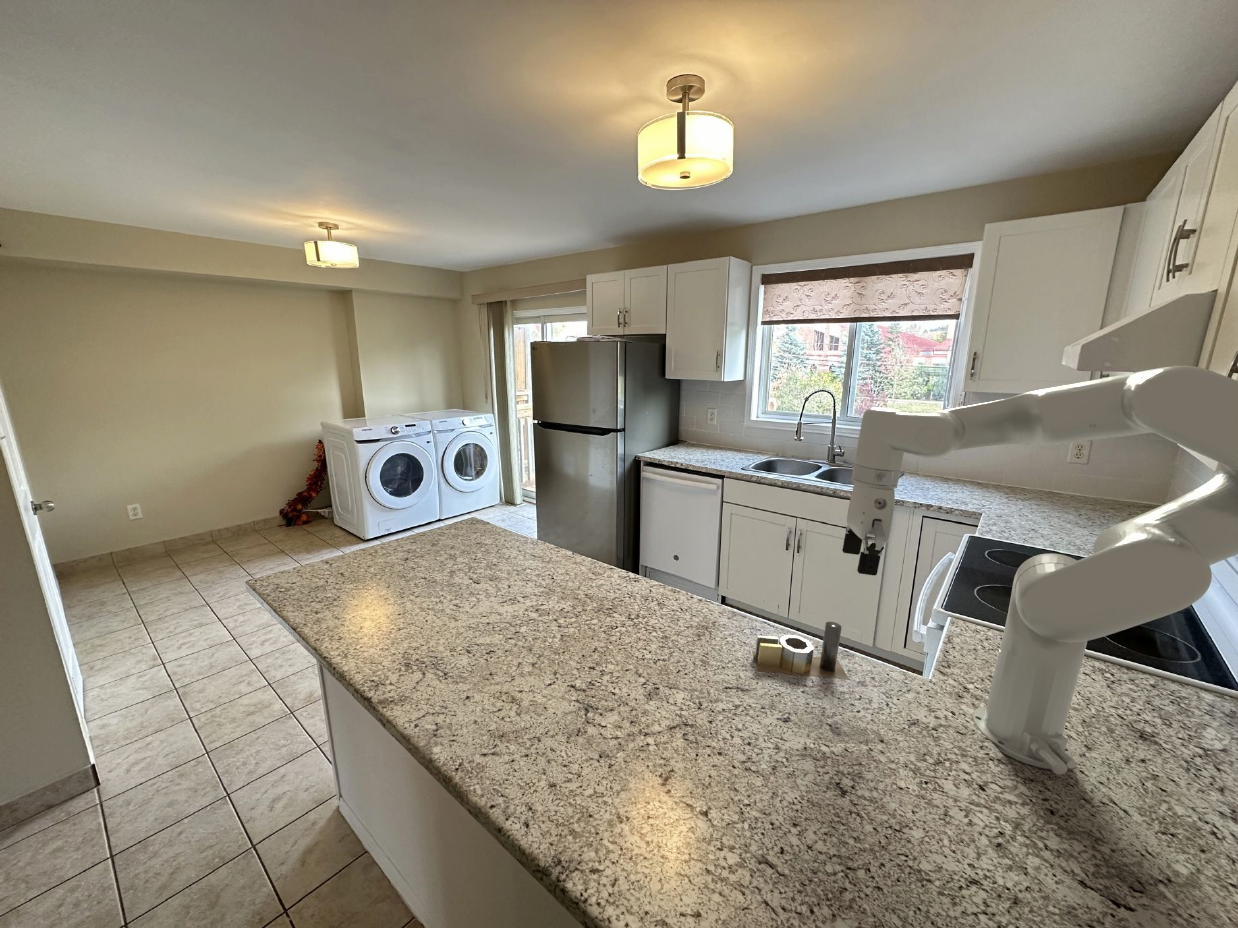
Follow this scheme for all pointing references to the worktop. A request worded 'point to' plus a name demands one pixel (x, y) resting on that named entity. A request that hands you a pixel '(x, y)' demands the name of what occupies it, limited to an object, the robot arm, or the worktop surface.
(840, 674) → the base board
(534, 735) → the worktop surface
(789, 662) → the hinge
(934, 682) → the worktop surface
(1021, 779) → the worktop surface
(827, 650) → the hinge pin
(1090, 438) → the robot arm
